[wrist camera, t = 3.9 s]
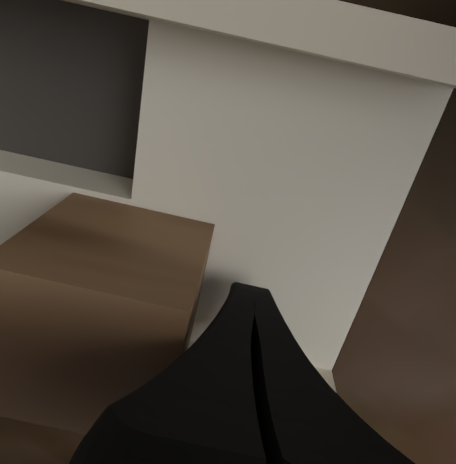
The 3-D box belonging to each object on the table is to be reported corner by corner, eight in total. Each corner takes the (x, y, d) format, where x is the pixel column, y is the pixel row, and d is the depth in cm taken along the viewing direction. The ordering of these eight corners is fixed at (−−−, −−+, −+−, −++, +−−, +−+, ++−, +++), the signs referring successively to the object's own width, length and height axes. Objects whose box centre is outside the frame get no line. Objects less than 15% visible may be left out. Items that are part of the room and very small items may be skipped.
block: (191, 334, 14) (161, 451, 10) (69, 307, 14) (-12, 413, 10) (214, 224, 12) (190, 311, 8) (73, 192, 12) (-26, 263, 8)
